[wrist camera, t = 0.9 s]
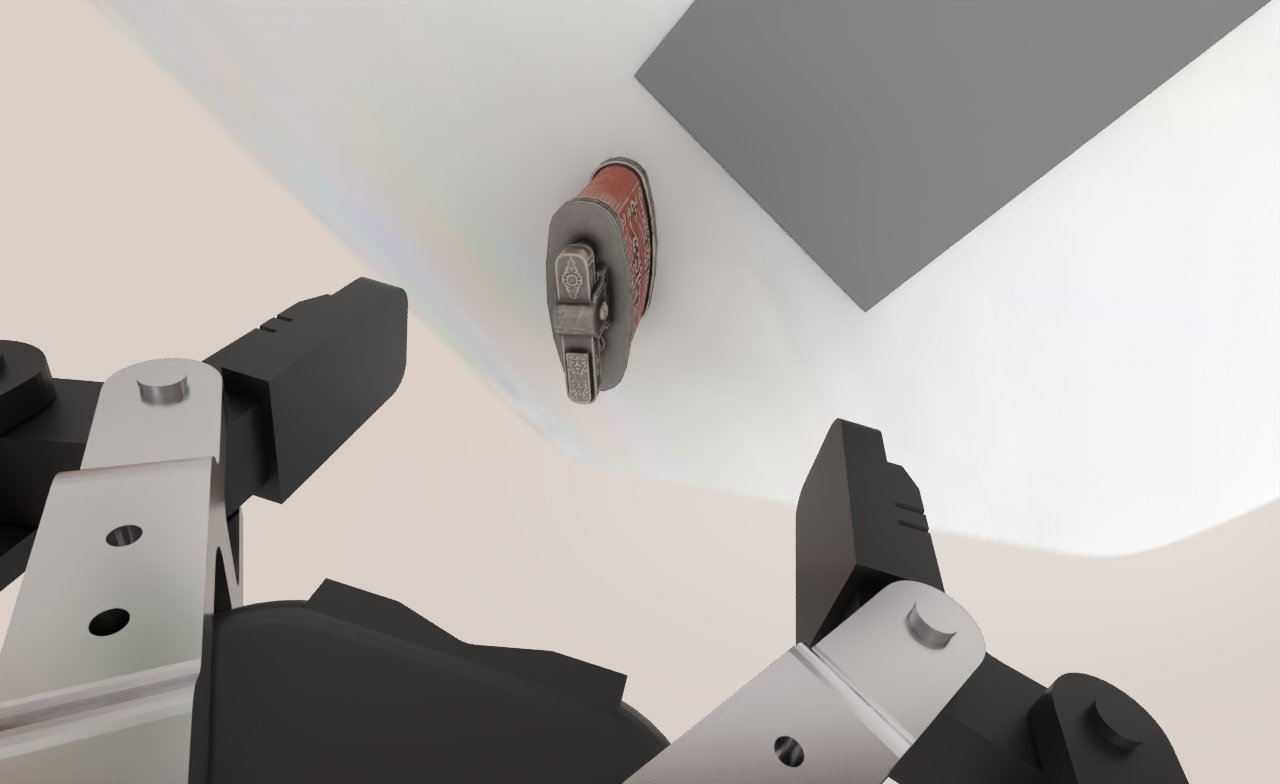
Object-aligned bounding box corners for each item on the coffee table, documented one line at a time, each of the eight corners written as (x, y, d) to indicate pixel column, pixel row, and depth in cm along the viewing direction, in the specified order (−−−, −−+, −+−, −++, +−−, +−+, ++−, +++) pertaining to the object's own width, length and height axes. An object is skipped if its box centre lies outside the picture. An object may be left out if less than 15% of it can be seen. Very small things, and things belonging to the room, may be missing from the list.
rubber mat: (636, 74, 28) (634, 75, 28) (1034, -414, 20) (1041, -424, 19) (863, 307, 32) (865, 312, 32) (1282, -17, 23) (1293, -17, 23)
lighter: (584, 156, 31) (514, 221, 22) (656, 157, 30) (613, 224, 22) (594, 316, 35) (539, 421, 26) (658, 319, 34) (622, 427, 26)
